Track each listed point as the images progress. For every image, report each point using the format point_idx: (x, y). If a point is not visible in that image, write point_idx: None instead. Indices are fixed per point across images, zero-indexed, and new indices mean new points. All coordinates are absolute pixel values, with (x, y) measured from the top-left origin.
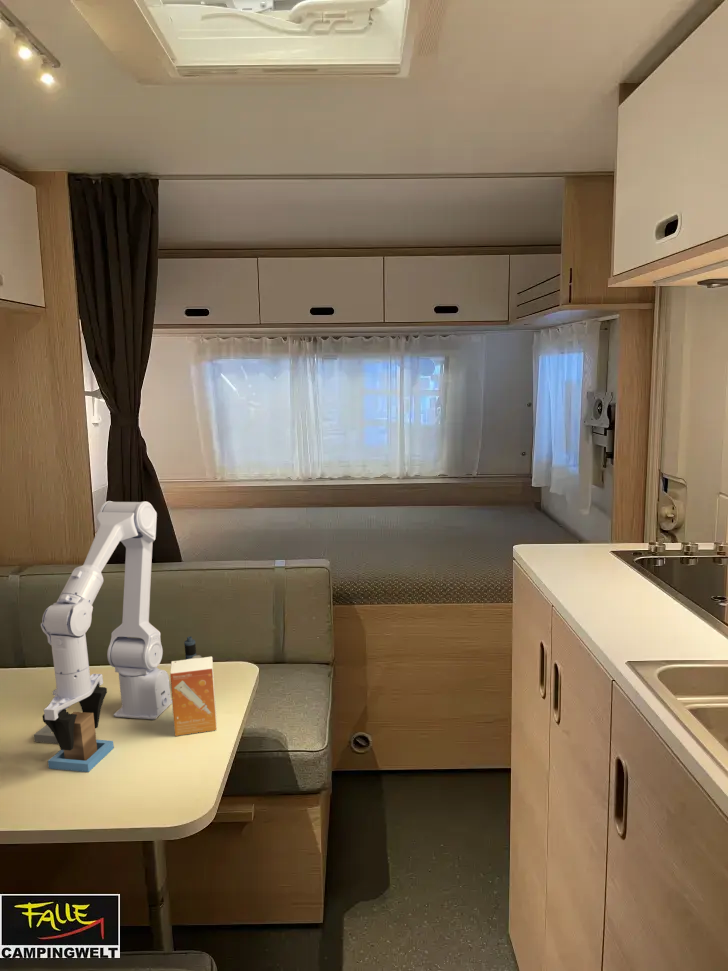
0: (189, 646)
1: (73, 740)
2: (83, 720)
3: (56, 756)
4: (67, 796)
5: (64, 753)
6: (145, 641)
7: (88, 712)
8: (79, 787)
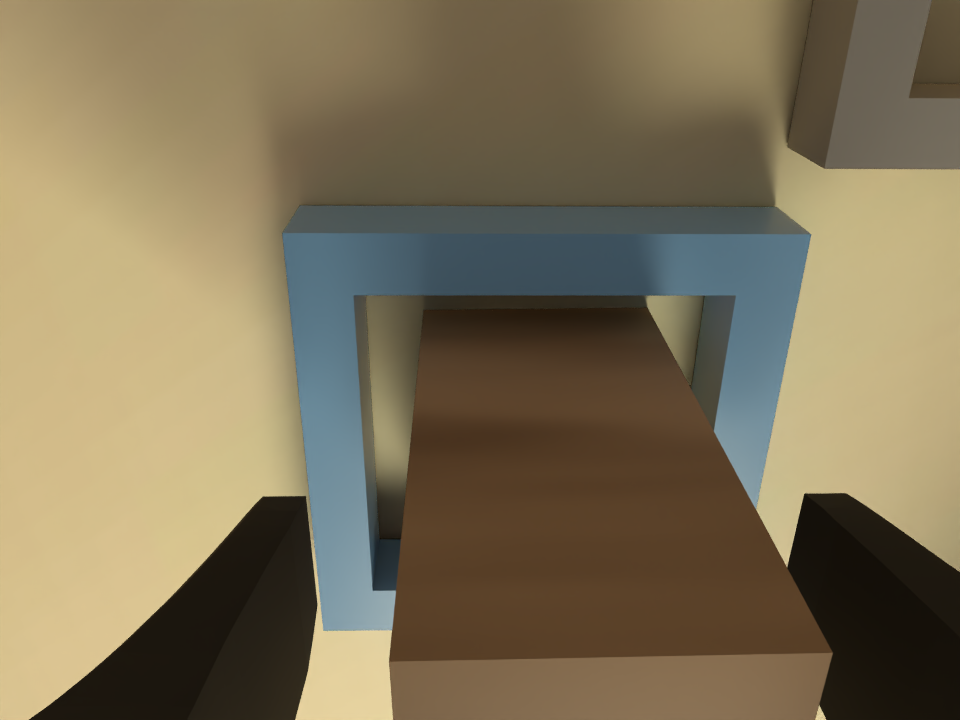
0: None
1: (291, 714)
2: None
3: (382, 275)
4: (3, 605)
5: (419, 361)
6: None
7: (916, 707)
8: (132, 619)
